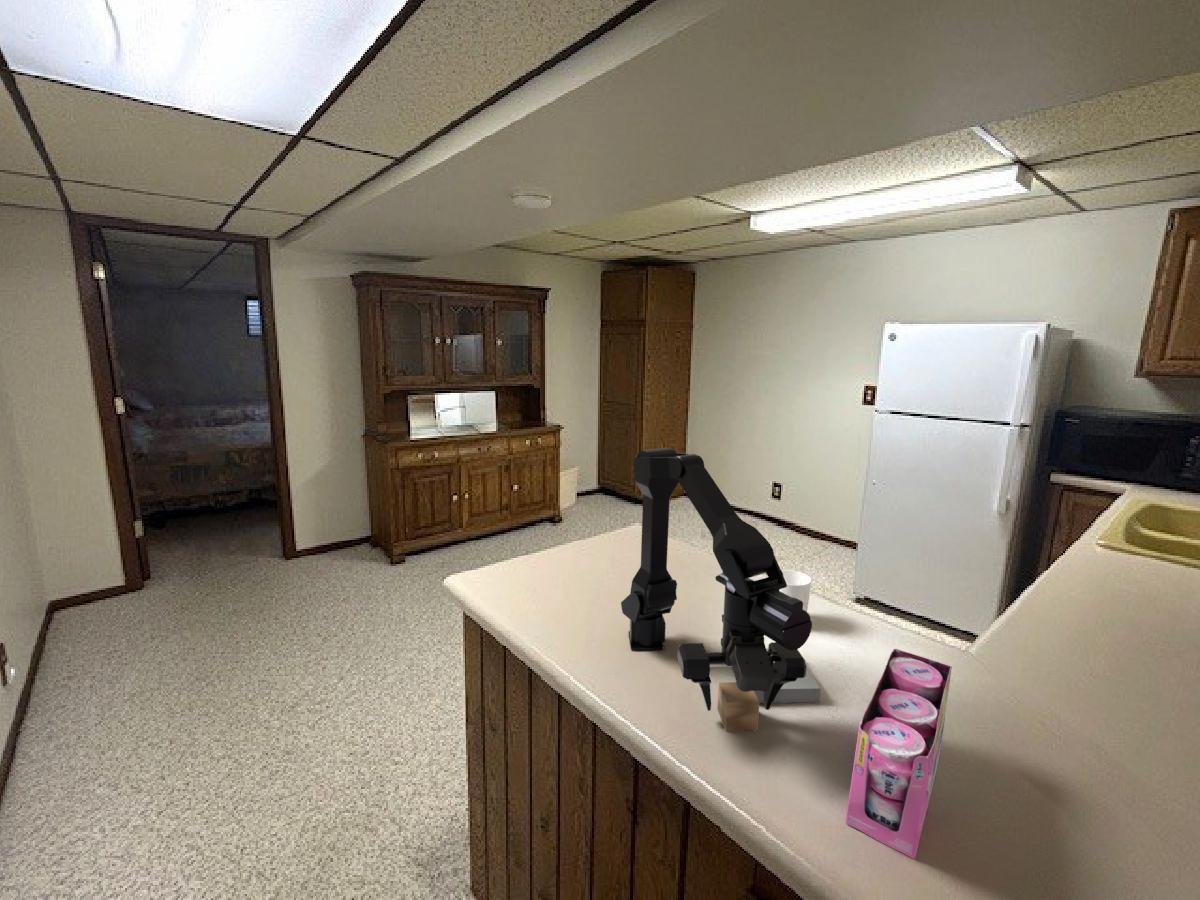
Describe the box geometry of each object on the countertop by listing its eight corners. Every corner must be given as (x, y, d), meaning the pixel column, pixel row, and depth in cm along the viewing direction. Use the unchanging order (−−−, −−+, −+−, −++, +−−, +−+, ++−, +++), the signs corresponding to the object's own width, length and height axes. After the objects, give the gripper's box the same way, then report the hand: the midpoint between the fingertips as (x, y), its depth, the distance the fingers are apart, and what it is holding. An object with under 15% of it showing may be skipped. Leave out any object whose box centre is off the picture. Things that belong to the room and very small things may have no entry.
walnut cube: (725, 731, 82) (726, 702, 81) (717, 710, 86) (718, 682, 86) (757, 731, 82) (759, 702, 81) (747, 709, 87) (749, 682, 86)
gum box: (915, 871, 60) (929, 767, 57) (840, 832, 65) (851, 734, 62) (941, 748, 78) (953, 665, 76) (882, 725, 83) (891, 646, 80)
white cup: (810, 631, 110) (814, 586, 109) (771, 627, 112) (774, 583, 110) (804, 613, 118) (807, 571, 116) (767, 609, 120) (770, 568, 118)
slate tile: (748, 702, 88) (749, 689, 88) (729, 661, 100) (729, 648, 99) (819, 701, 88) (820, 688, 88) (792, 660, 100) (793, 648, 100)
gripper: (692, 647, 73) (688, 747, 76) (826, 645, 73) (817, 745, 76) (678, 608, 84) (675, 696, 87) (795, 607, 84) (788, 695, 87)
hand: (737, 708), depth 84 cm, fingers open, 9 cm apart
